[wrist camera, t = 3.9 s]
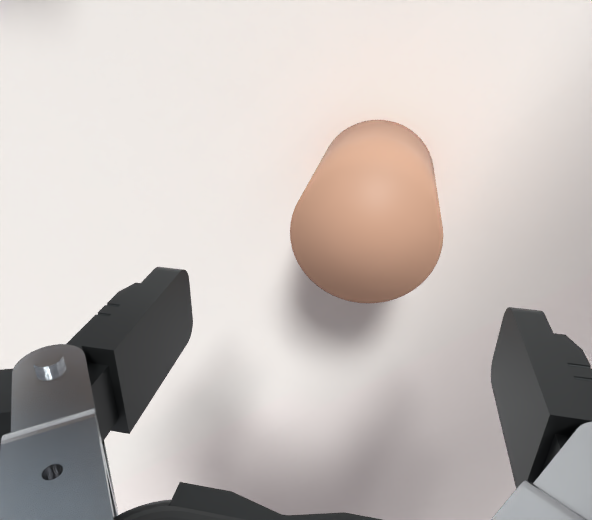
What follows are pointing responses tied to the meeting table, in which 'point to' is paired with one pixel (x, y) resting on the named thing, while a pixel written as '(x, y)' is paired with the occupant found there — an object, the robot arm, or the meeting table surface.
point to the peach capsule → (370, 215)
